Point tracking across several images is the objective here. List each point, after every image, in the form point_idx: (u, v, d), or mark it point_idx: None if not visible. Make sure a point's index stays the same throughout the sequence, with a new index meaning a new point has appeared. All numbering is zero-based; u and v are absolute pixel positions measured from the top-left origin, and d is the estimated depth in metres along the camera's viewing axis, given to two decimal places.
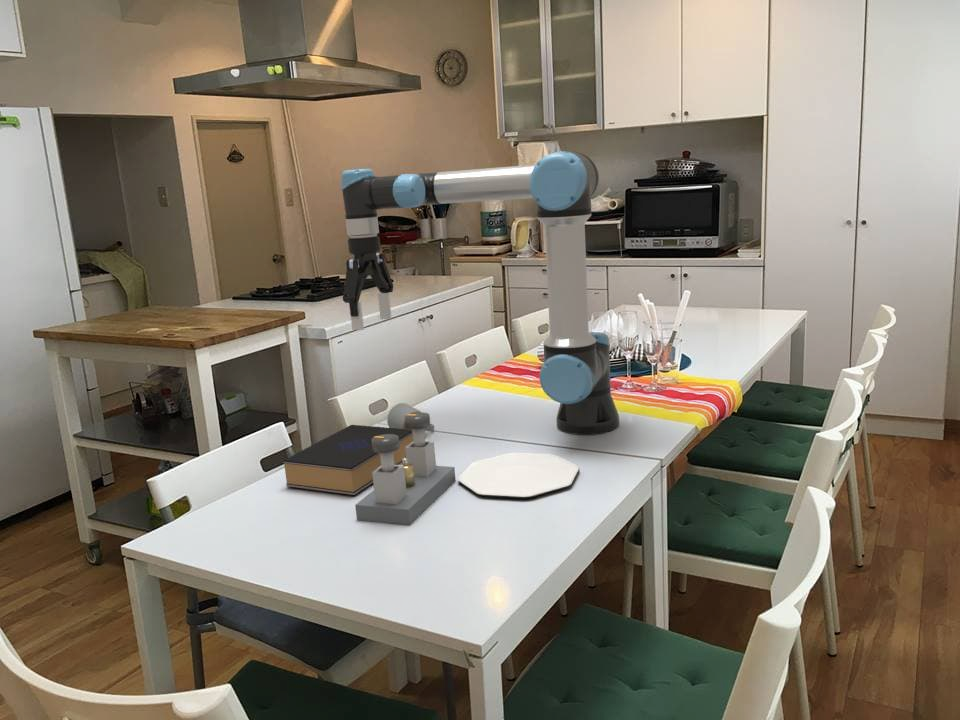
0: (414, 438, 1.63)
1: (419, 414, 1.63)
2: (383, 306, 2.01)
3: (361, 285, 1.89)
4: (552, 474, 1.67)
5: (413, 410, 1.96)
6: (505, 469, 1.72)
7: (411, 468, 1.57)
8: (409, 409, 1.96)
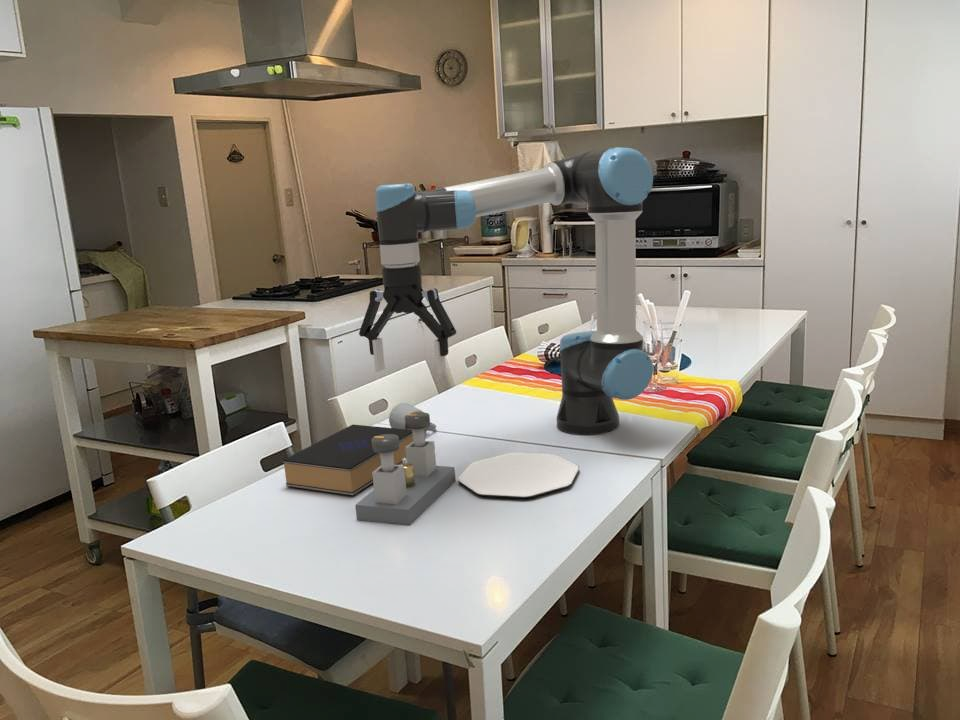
0: (414, 438, 1.63)
1: (419, 414, 1.63)
2: None
3: (379, 322, 1.60)
4: (552, 474, 1.67)
5: (415, 410, 1.96)
6: (505, 469, 1.72)
7: (411, 468, 1.57)
8: (411, 409, 1.96)
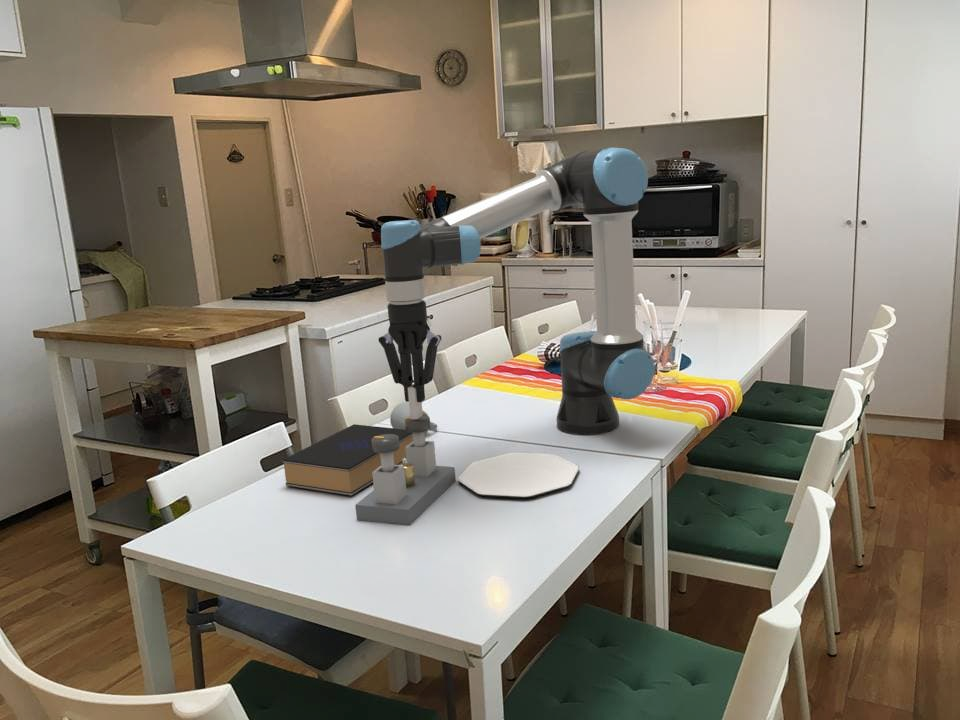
0: (415, 442, 1.63)
1: (419, 418, 1.63)
2: None
3: (403, 364, 1.60)
4: (552, 474, 1.67)
5: None
6: (505, 469, 1.72)
7: (411, 468, 1.57)
8: None
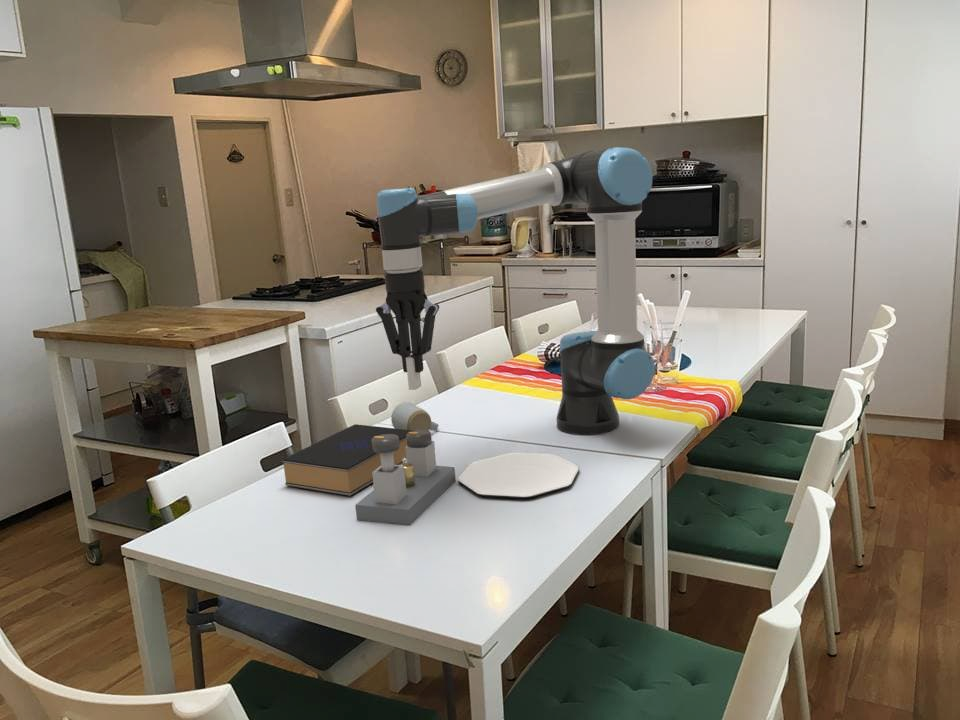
0: None
1: (421, 432, 1.64)
2: None
3: (401, 334, 1.58)
4: (552, 474, 1.67)
5: (417, 409, 1.96)
6: (505, 469, 1.72)
7: (411, 468, 1.57)
8: (413, 408, 1.97)
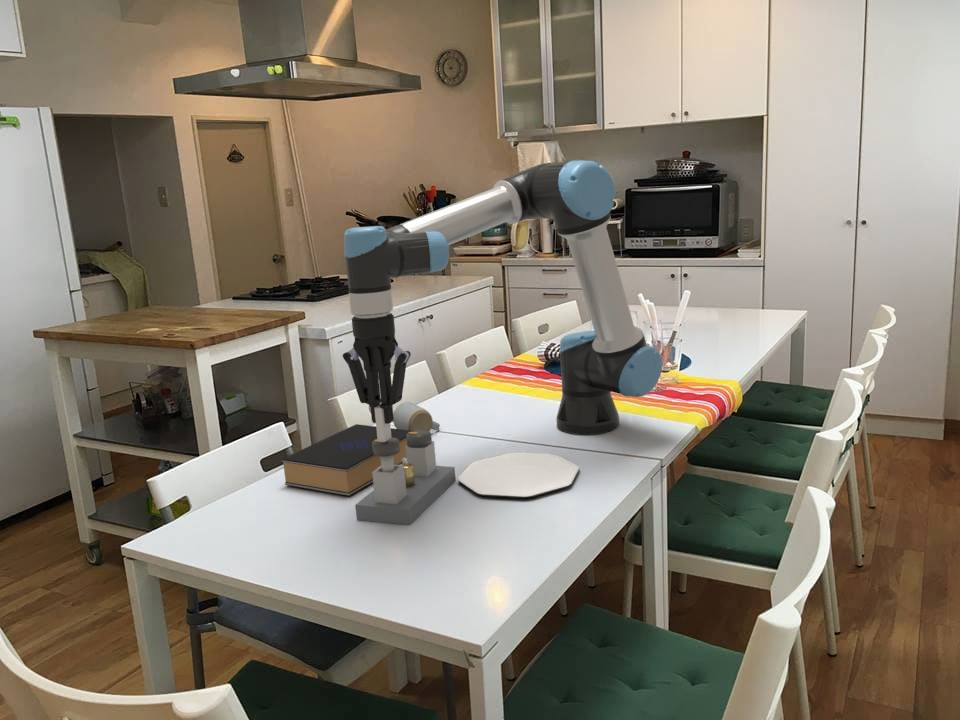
0: None
1: (421, 432, 1.64)
2: None
3: (369, 383, 1.47)
4: (552, 474, 1.67)
5: (418, 409, 1.96)
6: (505, 469, 1.72)
7: (411, 468, 1.57)
8: (414, 408, 1.97)
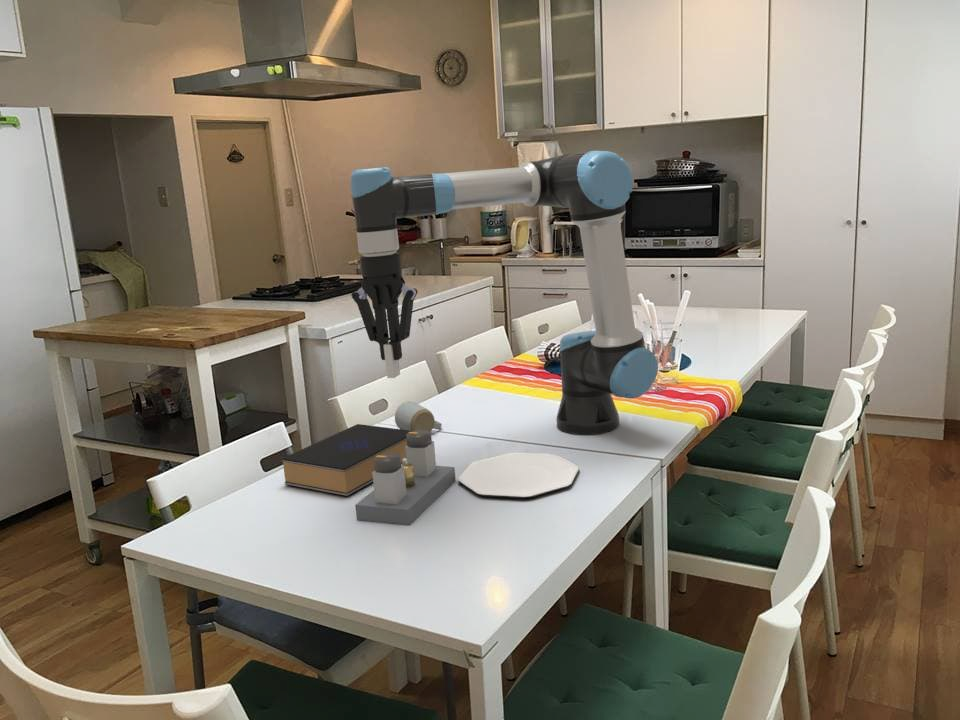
0: None
1: (421, 432, 1.64)
2: None
3: (378, 320, 1.52)
4: (552, 474, 1.67)
5: (420, 408, 1.97)
6: (505, 469, 1.72)
7: (411, 468, 1.57)
8: (416, 407, 1.97)
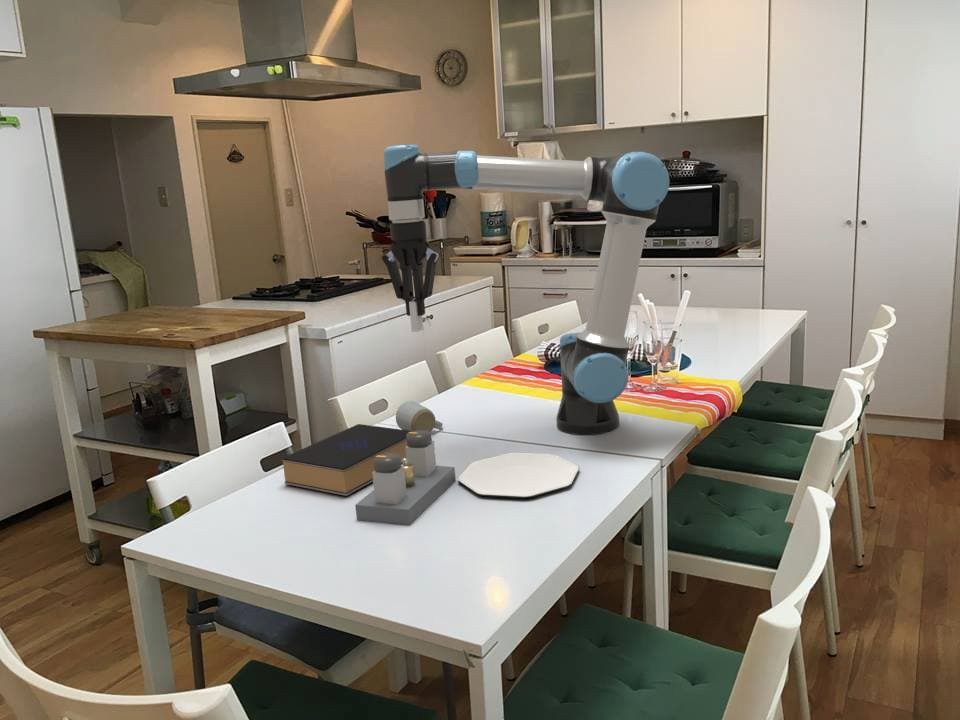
0: None
1: (421, 432, 1.64)
2: None
3: (404, 280, 1.73)
4: (552, 474, 1.67)
5: (421, 408, 1.97)
6: (505, 469, 1.72)
7: (411, 468, 1.57)
8: (417, 407, 1.98)
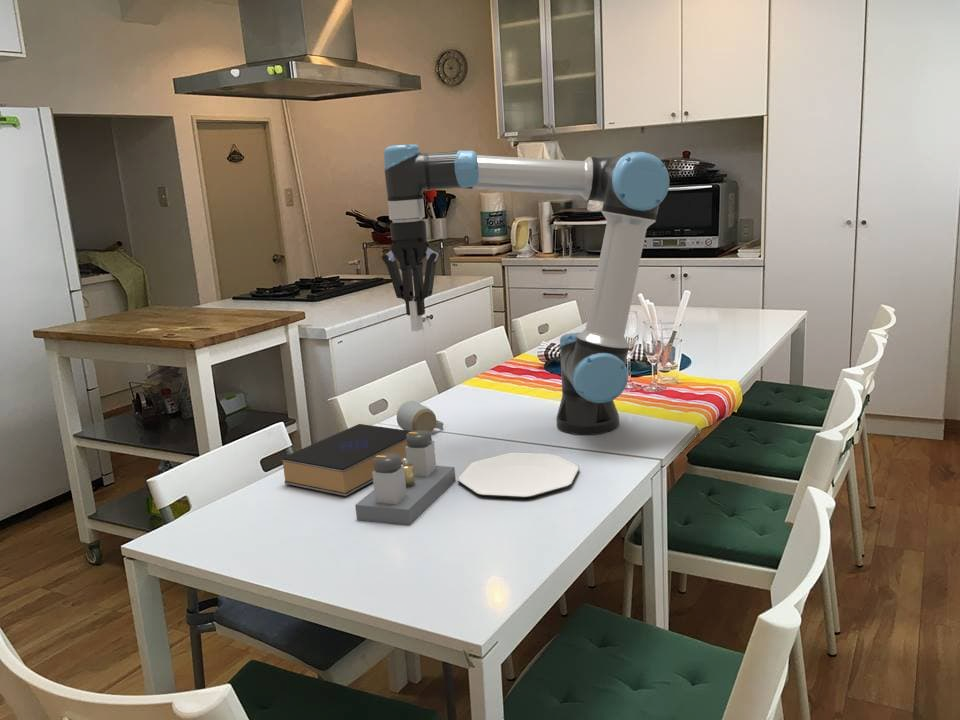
0: None
1: (421, 432, 1.64)
2: None
3: (404, 280, 1.73)
4: (552, 474, 1.67)
5: (422, 407, 1.97)
6: (505, 469, 1.72)
7: (411, 468, 1.57)
8: (418, 406, 1.98)
